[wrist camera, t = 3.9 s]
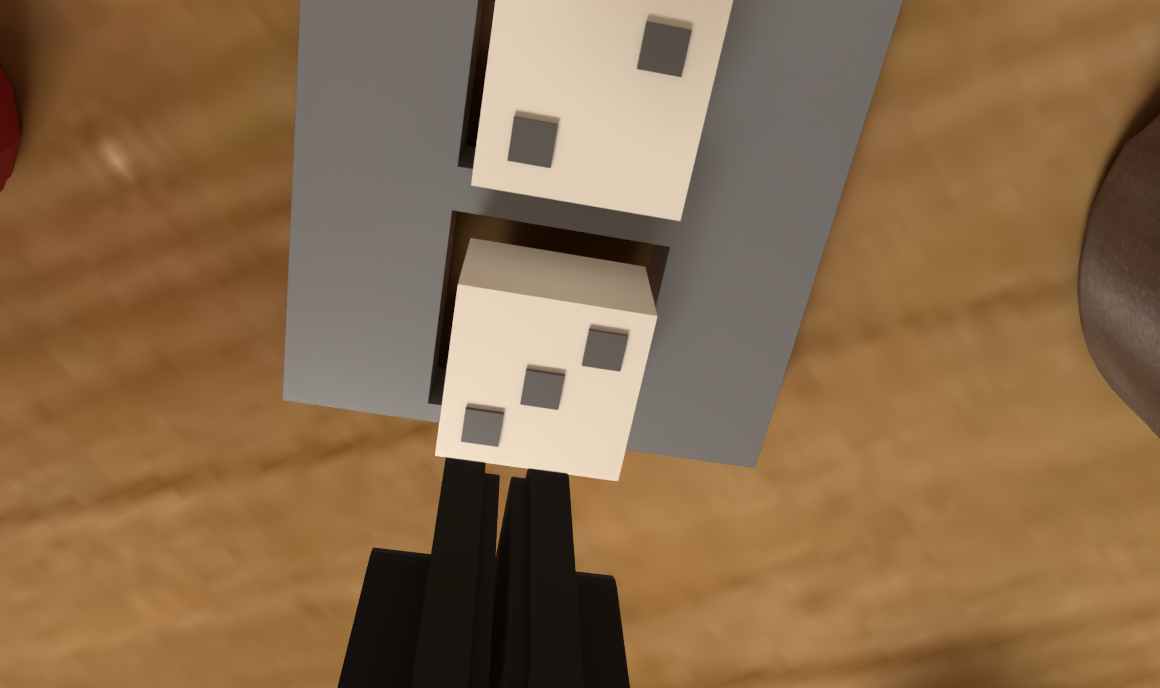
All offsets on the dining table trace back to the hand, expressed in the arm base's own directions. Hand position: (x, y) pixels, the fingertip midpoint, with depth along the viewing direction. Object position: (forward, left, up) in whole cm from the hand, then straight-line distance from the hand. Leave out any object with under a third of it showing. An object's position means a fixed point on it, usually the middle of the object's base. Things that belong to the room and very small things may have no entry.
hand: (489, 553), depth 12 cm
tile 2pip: (-1, -5, -9) cm, 11 cm away
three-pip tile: (-1, +1, -9) cm, 9 cm away
